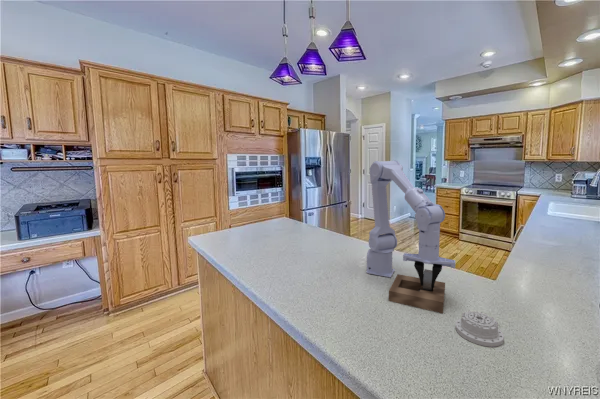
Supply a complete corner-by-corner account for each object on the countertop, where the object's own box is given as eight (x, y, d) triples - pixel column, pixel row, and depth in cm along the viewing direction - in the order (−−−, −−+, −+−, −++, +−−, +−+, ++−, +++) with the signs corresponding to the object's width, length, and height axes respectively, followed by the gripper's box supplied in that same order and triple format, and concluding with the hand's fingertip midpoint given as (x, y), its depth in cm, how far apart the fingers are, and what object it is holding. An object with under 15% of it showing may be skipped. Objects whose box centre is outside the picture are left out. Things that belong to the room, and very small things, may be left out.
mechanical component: (505, 332, 65) (459, 317, 72) (506, 316, 65) (460, 303, 71) (501, 354, 58) (451, 336, 65) (503, 336, 57) (452, 319, 64)
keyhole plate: (388, 300, 82) (388, 290, 81) (397, 283, 93) (397, 274, 93) (442, 313, 74) (443, 302, 73) (444, 292, 86) (445, 282, 85)
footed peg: (417, 299, 82) (418, 272, 80) (419, 292, 86) (420, 266, 85) (434, 303, 79) (436, 275, 78) (435, 296, 83) (437, 270, 82)
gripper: (401, 244, 80) (400, 285, 82) (456, 251, 73) (453, 296, 75) (405, 238, 86) (404, 277, 88) (456, 244, 79) (454, 286, 81)
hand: (427, 285), depth 82 cm, fingers closed on footed peg, 2 cm apart
